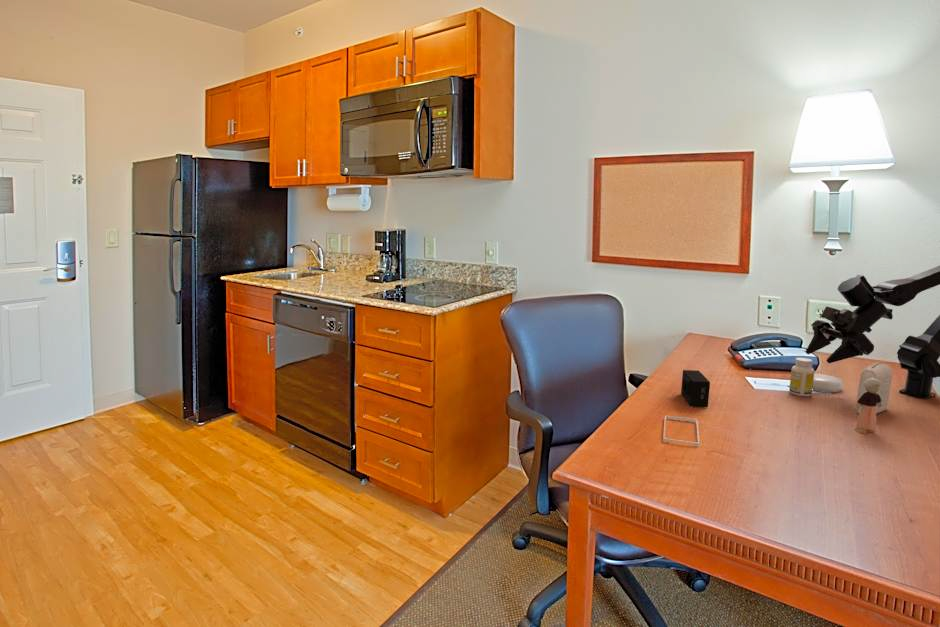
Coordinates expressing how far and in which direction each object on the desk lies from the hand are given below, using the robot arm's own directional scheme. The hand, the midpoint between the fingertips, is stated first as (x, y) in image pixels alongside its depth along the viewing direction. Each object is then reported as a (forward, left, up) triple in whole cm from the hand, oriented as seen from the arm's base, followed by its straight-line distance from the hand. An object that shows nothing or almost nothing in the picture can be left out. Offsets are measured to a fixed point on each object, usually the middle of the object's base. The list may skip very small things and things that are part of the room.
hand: (816, 357), depth 154 cm
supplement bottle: (+3, -2, -11) cm, 11 cm away
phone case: (+54, 0, -11) cm, 56 cm away
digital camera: (+34, -13, -11) cm, 38 cm away
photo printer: (+1, +15, -11) cm, 18 cm away
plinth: (-9, -2, -10) cm, 14 cm away
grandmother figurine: (+16, +21, -11) cm, 29 cm away
